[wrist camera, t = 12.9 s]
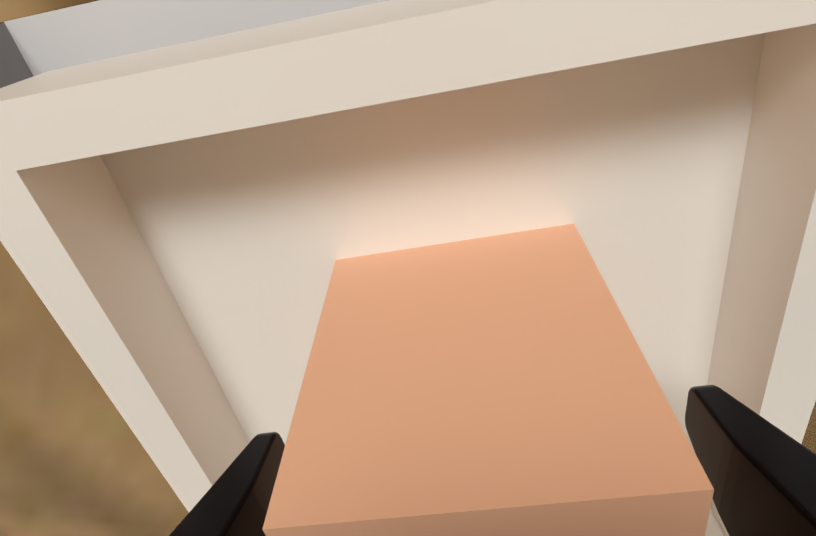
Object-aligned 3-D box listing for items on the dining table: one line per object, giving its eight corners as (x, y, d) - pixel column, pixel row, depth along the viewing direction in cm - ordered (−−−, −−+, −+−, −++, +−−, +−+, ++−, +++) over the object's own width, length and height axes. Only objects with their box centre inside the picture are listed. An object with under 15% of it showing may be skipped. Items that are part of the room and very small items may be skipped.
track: (1186, 350, 17) (1279, 400, 15) (213, 453, 21) (192, 503, 19) (1768, -372, 9) (2136, -457, 7) (-37, 31, 13) (-116, 47, 11)
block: (578, 396, 13) (675, 685, 8) (384, 418, 14) (362, 699, 9) (574, 223, 10) (713, 488, 5) (335, 259, 11) (262, 529, 6)
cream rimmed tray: (681, 409, 18) (763, 558, 13) (285, 450, 19) (246, 595, 15) (748, -83, 10) (977, -97, 6) (96, 53, 12) (-86, 118, 8)
